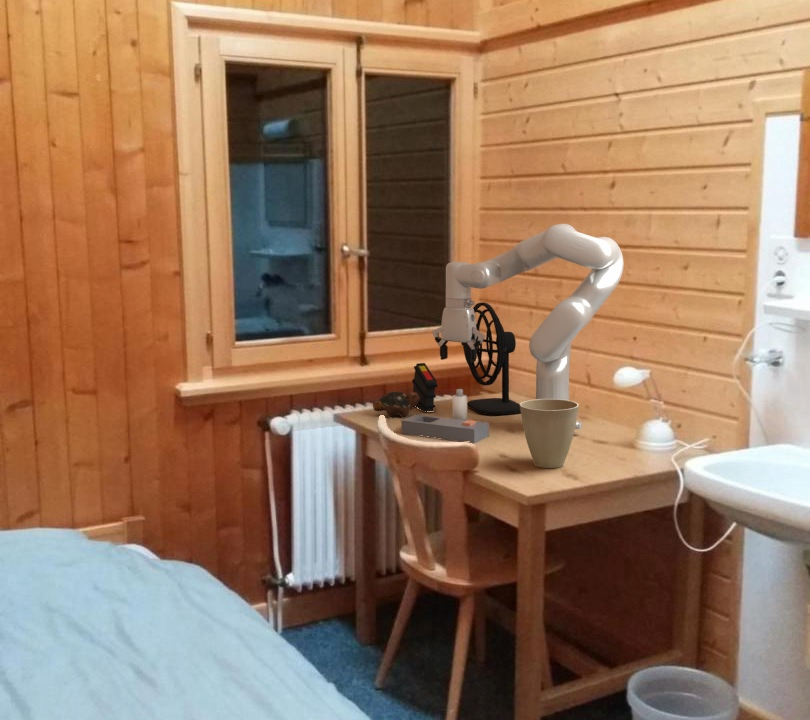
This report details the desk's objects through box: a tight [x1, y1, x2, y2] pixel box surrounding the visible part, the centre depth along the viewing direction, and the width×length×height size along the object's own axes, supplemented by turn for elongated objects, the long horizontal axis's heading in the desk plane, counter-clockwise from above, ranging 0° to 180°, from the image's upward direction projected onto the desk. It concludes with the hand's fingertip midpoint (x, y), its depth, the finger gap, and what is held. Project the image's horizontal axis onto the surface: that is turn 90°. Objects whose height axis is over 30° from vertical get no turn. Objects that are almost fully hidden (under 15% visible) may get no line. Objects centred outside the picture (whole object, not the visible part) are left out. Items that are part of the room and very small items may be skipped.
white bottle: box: [451, 388, 468, 420], centre depth 296 cm, size 4×4×11 cm
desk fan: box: [460, 301, 521, 416], centre depth 315 cm, size 27×18×35 cm, turn 17°
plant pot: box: [519, 398, 579, 469], centre depth 251 cm, size 15×15×16 cm
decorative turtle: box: [372, 391, 420, 418], centre depth 310 cm, size 10×15×8 cm, turn 87°
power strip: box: [401, 413, 490, 444], centre depth 285 cm, size 24×9×5 cm, turn 59°
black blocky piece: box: [411, 362, 438, 412], centre depth 318 cm, size 4×13×15 cm, turn 22°
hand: (458, 360), depth 294 cm, fingers open, 9 cm apart
